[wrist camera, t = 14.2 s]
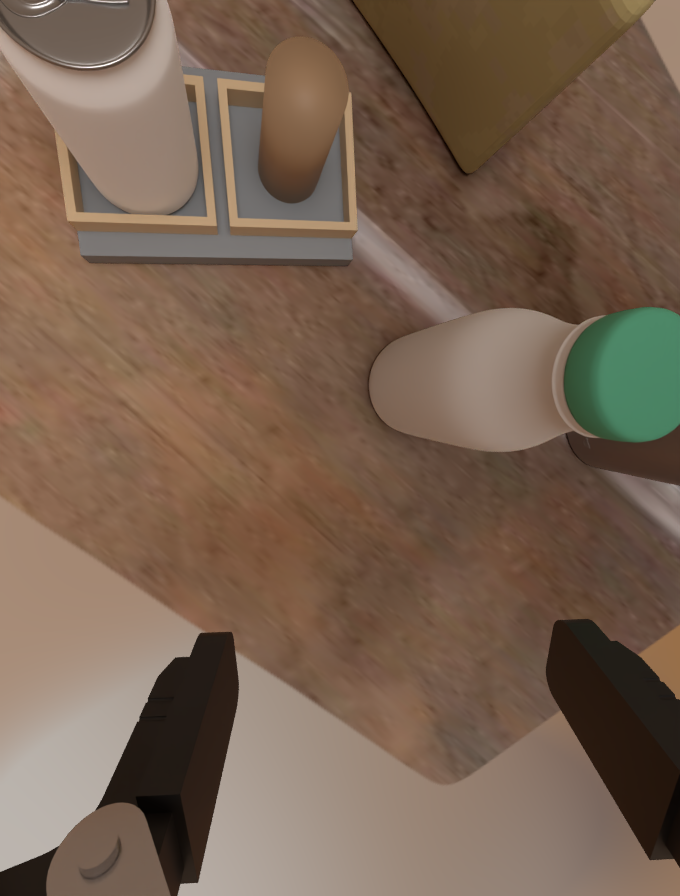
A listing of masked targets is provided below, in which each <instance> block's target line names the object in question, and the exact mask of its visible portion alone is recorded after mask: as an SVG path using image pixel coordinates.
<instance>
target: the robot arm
mask: <svg viewBox="0 0 680 896" xmlns="http://www.w3.org/2000/svg"><path fill="white" fill-rule="evenodd" d="M567 435H568V439H569V443H570V445H571V447H572V449H573V451H574V453H575V454H576V455H577V456H578V458H579V459H580V460H582V461H583V462H584V463H586V464H588V465H590V466H593V467H595V468H600V469H605V470H609V471H614V472H619V473H623V474H628V475H632V476H637V477H641V478H646V479H651V480H655V481H660V482H665V483H669V484H674V485H679V486H680V424H679V425H678V426H677V427H676V428H675V429H674V430H673V431H671V432H670V433H668V434H667V435H665V436H663V437H661V438H659V439H656V440H652V441H646V442H635V443H634V442H621V441H614V440H608V439H603V438H591V437H586V436H583V435H581V434H579V433H577V432H575V431H571V432H567ZM546 677H547V682H548V686H549V689H550V691H551V694H552V696H553V697H554V699H555V701H556V703H557V704H558V706H559V708H560V709H561V711H562V713H563V714H564V716H565V718H566V719H567V721H568V723H569V724H570V726H571V728H572V730H573V731H574V733H575V735H576V736H577V738H578V740H579V741H580V743H581V745H582V746H583V748H584V750H585V752H586V753H587V755H588V757H589V758H590V760H591V762H592V763H593V765H594V767H595V768H596V770H597V772H598V773H599V775H600V777H601V779H602V780H603V782H604V783H605V785H606V787H607V789H608V790H609V792H610V794H611V795H612V797H613V799H614V800H615V802H616V804H617V805H618V807H619V809H620V811H621V812H622V814H623V816H624V817H625V819H626V821H627V822H628V824H629V826H630V827H631V829H632V831H633V832H634V834H635V836H636V837H637V839H638V841H639V843H640V844H641V846H642V848H643V849H644V851H645V853H646V854H647V856H648V858H649V859H650V860H659V859H660V860H661V859H675V861H676V862H677V864H678V866H679V867H680V700H679V699H676V698H675V694H674V693H673V692H672V691H671V690H670V689H669V688H668V687H667V686H666V684H665V683H664V682H661V681H660V679H659V677H658V676H657V675H656V673H655V672H653V670H652V669H650V667H649V666H648V665H647V664H646V663H645V661H644V660H643V659H642V658H641V657H639V656H638V655H637V654H635V653H634V652H632V651H631V650H629V649H628V648H626V647H625V646H624V645H622V644H621V643H619V642H618V641H610V640H609V639H608V637H607V636H606V635H605V634H604V633H603V632H602V631H601V629H600V628H599V627H598V626H597V625H596V624H595V623H594V622H593V621H592V620H589V619H576V620H558V621H556V622H555V624H554V626H553V631H552V637H551V643H550V648H549V654H548V659H547V665H546ZM238 681H239V680H238V671H237V663H236V655H235V646H234V638H233V634H232V632H213V633H200V634H199V636H198V638H197V640H196V642H195V645H194V647H193V650H192V653H191V655H190V657H178V658H175V659H174V660H173V661H172V662H171V663H170V664H169V665H168V666H167V667H166V668H165V669H164V671H163V672H162V673H161V674H160V675H159V676H158V678H157V680H156V682H155V684H154V687H153V689H152V691H151V693H150V695H149V697H148V702H147V703H146V704H145V706H144V708H143V710H142V713H141V715H140V719H139V722H137V724H136V726H135V728H134V730H133V732H132V735H131V737H130V739H129V741H128V743H127V746H126V748H125V750H124V752H123V754H122V757H121V759H120V761H119V763H118V765H117V768H116V770H115V772H114V774H113V776H112V778H111V781H110V783H109V785H108V787H107V789H106V792H105V794H104V796H103V798H102V800H101V802H100V804H99V805H98V807H97V808H96V810H95V811H94V812H92V813H91V814H89V815H88V816H87V817H85V818H84V819H83V820H82V821H80V823H78V824H77V825H76V826H75V827H74V828H73V829H72V830H71V831H70V832H69V833H68V835H67V836H66V838H65V839H64V840H63V841H62V843H61V844H60V846H58V847H56V848H55V849H53V850H51V851H49V852H47V853H45V854H43V855H41V856H39V857H36V858H34V859H31V860H29V861H27V862H24V863H22V864H19V865H17V866H14V867H12V868H9V869H7V870H4V871H2V872H0V896H177V895H178V891H179V886H180V884H184V883H198V880H199V875H200V871H201V866H202V862H203V858H204V853H205V849H206V844H207V840H208V835H209V830H210V826H211V822H212V817H213V813H214V808H215V804H216V799H217V794H218V790H219V785H220V781H221V777H222V772H223V768H224V763H225V759H226V754H227V749H228V745H229V740H230V735H231V731H232V727H233V722H234V718H235V713H236V709H237V702H238V690H239V682H238Z"/></svg>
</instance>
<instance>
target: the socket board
mask: <svg viewBox="0 0 680 896" xmlns="http://www.w3.org/2000/svg"><path fill="white" fill-rule="evenodd" d="M182 71H183V77H184V82H185V88H186V93H187V99H188V105H189V110H190V116H191V122H192V128H193V134H194V139H195V145H196V152H197V158H198V179H197V184H196V187H195V190H194V192H193V194H192V196H191V197H190V199H189V200H188V201H187V202H186V203H185V204H184V205H183V206H182V207H181V208H180V209H178V210H177V211H175V212H173V213H171V214H168V215H141V214H130V213H128V212H125V211H123V210H121V209H120V208H118V207H116V206H115V205H113V204H112V203H111V202H109V201H108V200H107V199H106V198H105V197H104V196H103V195H102V194H101V193H100V192H99V190H98V189H97V188H96V187H95V185H94V184H93V183H92V181H91V180H90V178H89V177H88V176H87V174H86V173H85V171H84V170H83V169H82V167H81V166H80V164H79V163H78V162H77V160H76V159H75V157H74V156H73V154H72V153H71V152H70V150H69V149H68V147H67V146H66V145H65V143H64V142H63V140H62V139H61V137H60V136H59V135H58V133H57V132H56V130H55V129H54V130H55V137H56V144H57V151H58V158H59V165H60V172H61V179H62V186H63V193H64V200H65V207H66V214H67V221H68V222H69V223H70V224H71V225H72V226H73V227H74V228H75V229H76V230H77V231H78V239H79V246H80V253H81V256H82V257H83V258H84V259H86V260H87V261H88V262H89V263H147V264H231V265H316V266H348V264H349V263H350V262H351V261H352V260H353V258H352V237H353V236H354V234H355V233H356V232H357V209H356V187H355V165H354V143H353V121H352V99H351V93H350V92H349V87H348V80H347V76H346V73H345V70H344V68H343V66H342V64H341V62H340V60H339V59H338V58H337V56H336V55H335V54H334V53H333V52H332V50H330V49H329V48H328V47H327V46H326V45H324V44H323V43H321V42H319V41H317V40H315V39H312V38H309V37H301V36H299V37H292V38H289V39H286V40H284V41H283V42H281V43H280V44H278V45H277V46H276V47H275V49H274V50H273V51H272V53H271V55H270V56H269V59H268V62H267V66H266V73H265V76H262V75H253V74H244V73H235V72H227V71H218V70H209V69H200V68H191V67H182Z"/></svg>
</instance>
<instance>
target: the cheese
mask: <svg viewBox="0 0 680 896" xmlns="http://www.w3.org/2000/svg"><path fill="white" fill-rule="evenodd" d="M654 1H655V0H353V2H354V3H355V4H356V6H357V7H358V9H359V10H360V12H361V13H362V14H363V16H364V17H365V19H366V20H367V22H368V23H369V24H370V26H371V27H372V29H373V30H374V32H375V33H376V35H377V36H378V37H379V39H380V40H381V42H382V43H383V45H384V46H385V48H386V49H387V51H388V52H389V54H390V55H391V57H392V58H393V60H394V61H395V63H396V64H397V66H398V67H399V69H400V70H401V72H402V73H403V75H404V76H405V78H406V79H407V81H408V82H409V84H410V85H411V87H412V88H413V90H414V92H415V93H416V95H417V96H418V98H419V99H420V101H421V103H422V104H423V106H424V107H425V109H426V111H427V112H428V114H429V116H430V117H431V119H432V120H433V122H434V124H435V125H436V127H437V129H438V130H439V132H440V134H441V135H442V137H443V139H444V140H445V142H446V144H447V145H448V147H449V149H450V150H451V152H452V154H453V155H454V157H455V159H456V161H457V162H458V164H459V166H460V167H461V168H462V170H463V171H464V172H466V173H472V172H474V171H475V170H477V169H478V168H479V167H480V166H482V165H483V164H484V163H485V162H486V161H487V160H488V159H489V158H490V157H491V156H492V155H494V154H495V153H496V152H497V151H498V150H499V149H500V148H501V147H502V146H503V145H504V144H506V143H507V142H508V141H509V140H510V139H511V138H512V137H513V136H514V135H515V134H516V133H518V132H519V131H520V130H521V129H522V128H523V127H524V126H525V125H526V124H527V123H528V122H529V121H531V120H532V119H533V118H534V117H535V116H536V115H537V114H538V113H539V112H540V111H541V110H542V109H544V108H545V107H546V106H547V105H548V104H549V103H550V102H551V101H552V100H553V99H554V98H555V97H556V96H558V95H559V94H560V93H561V92H562V91H563V90H564V89H565V88H566V87H567V86H568V85H569V84H570V83H571V82H573V81H574V80H575V79H576V78H577V77H578V76H579V75H580V74H581V73H582V72H583V71H584V70H585V69H586V68H588V67H589V66H590V65H591V64H592V63H593V62H594V61H595V60H596V59H597V58H598V57H599V56H600V55H601V54H603V53H604V52H605V51H606V50H607V49H608V48H609V47H610V46H611V45H612V44H613V43H614V42H615V41H617V40H618V39H619V38H620V37H621V36H622V35H623V34H624V33H625V32H626V31H627V30H628V29H629V28H630V27H631V26H632V25H634V24H635V22H636V21H637V20H638V19H639V18H640V17H641V16H642V15H643V14H644V13H645V12H646V11H647V10H648V9H649V8H650V6H651V5H652V4H653V2H654Z"/></svg>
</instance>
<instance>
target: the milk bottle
mask: <svg viewBox="0 0 680 896" xmlns="http://www.w3.org/2000/svg"><path fill="white" fill-rule="evenodd" d="M369 393H370V398H371V402H372V405H373V407H374V409H375V411H376V413H377V414H378V416H379V417H380V418H381V419H382V420H383V421H384V422H385V423H386V424H387V425H388V426H390V427H391V428H393V429H395V430H397V431H400V432H403V433H406V434H409V435H413V436H417V437H421V438H425V439H429V440H433V441H437V442H442V443H446V444H451V445H455V446H459V447H464V448H469V449H475V450H481V451H489V452H509V451H517V450H523V449H527V448H531V447H534V446H537V445H539V444H542V443H544V442H546V441H549V440H551V439H553V438H555V437H557V436H559V435H561V434H564V433H567V432H571V431H575V432H577V433H579V434H581V435H583V436H586V437H591V438H603V439H608V440H614V441H621V442H634V443H635V442H646V441H652V440H656V439H659V438H661V437H663V436H665V435H667V434H668V433H670V432H671V431H673V430H674V429H675V428H676V427H677V426H678V425H679V424H680V316H679V315H678V314H676V313H674V312H672V311H670V310H667V309H663V308H655V307H642V308H636V309H629V310H624V311H620V312H616V313H613V314H609V315H603V316H597V317H593V318H590V319H588V320H586V321H584V322H582V323H581V324H579V325H575V324H570V323H566V322H563V321H561V320H559V319H556V318H554V317H552V316H550V315H547V314H544V313H541V312H538V311H533V310H528V309H521V308H501V309H492V310H487V311H483V312H479V313H475V314H471V315H467V316H464V317H460V318H457V319H454V320H451V321H448V322H445V323H442V324H438V325H435V326H432V327H429V328H426V329H423V330H421V331H418V332H415V333H412V334H409V335H406V336H404V337H401V338H399V339H397V340H395V341H393V342H391V343H390V344H389V345H387V346H386V347H385V348H384V349H383V350H382V351H381V352H380V354H379V355H378V357H377V358H376V360H375V362H374V364H373V366H372V369H371V373H370V378H369Z"/></svg>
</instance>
